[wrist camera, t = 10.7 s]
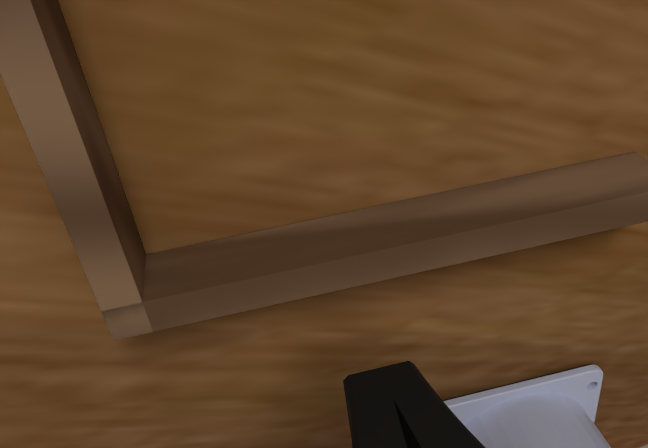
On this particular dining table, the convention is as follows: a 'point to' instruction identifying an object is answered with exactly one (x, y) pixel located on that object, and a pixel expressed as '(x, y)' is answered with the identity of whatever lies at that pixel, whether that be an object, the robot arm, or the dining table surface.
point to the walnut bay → (280, 242)
